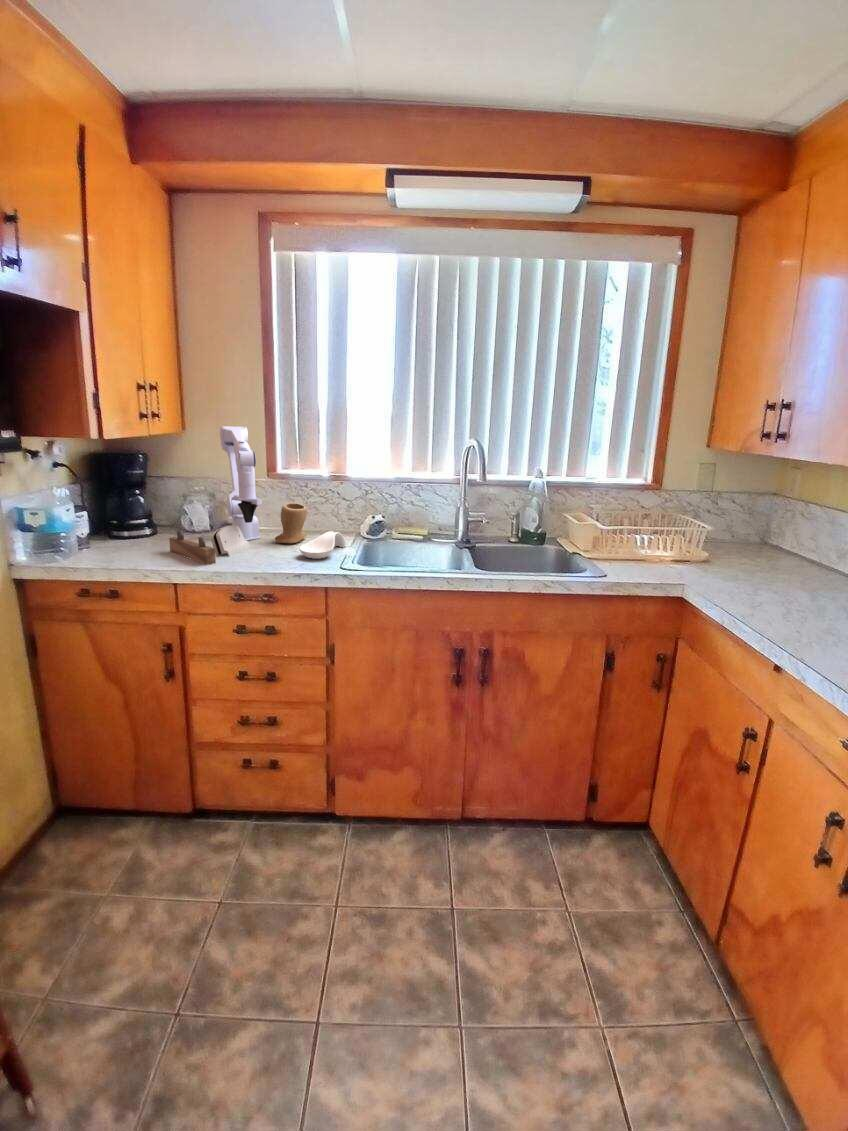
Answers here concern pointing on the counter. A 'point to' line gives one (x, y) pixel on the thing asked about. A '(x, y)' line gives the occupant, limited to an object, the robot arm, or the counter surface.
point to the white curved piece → (228, 540)
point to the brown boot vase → (292, 523)
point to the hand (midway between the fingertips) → (248, 522)
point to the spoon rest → (322, 545)
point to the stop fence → (192, 549)
